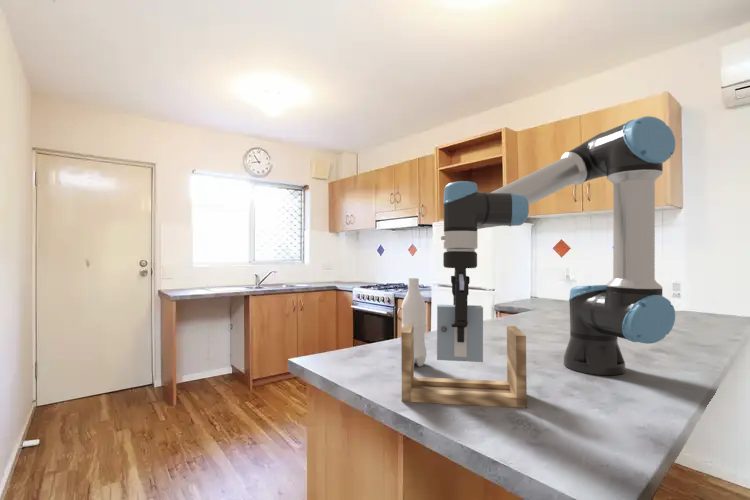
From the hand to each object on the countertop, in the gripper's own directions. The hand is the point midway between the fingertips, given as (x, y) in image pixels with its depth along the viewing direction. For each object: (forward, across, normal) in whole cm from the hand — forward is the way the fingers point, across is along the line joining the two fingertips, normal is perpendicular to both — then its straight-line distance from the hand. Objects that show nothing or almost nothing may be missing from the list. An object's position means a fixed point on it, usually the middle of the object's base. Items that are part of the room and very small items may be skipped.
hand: (459, 353), depth 89 cm
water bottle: (+10, -24, -12) cm, 28 cm away
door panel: (+1, 0, 0) cm, 1 cm away
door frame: (+9, 0, 0) cm, 9 cm away
